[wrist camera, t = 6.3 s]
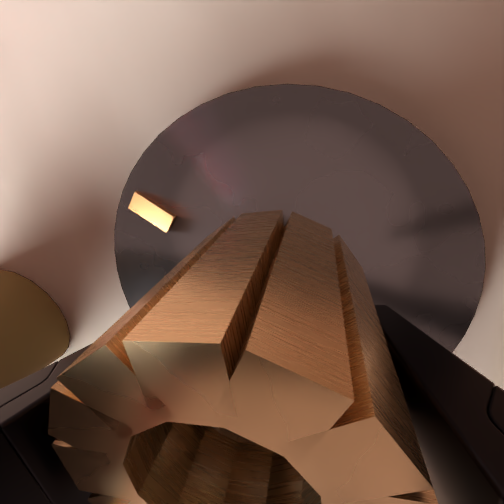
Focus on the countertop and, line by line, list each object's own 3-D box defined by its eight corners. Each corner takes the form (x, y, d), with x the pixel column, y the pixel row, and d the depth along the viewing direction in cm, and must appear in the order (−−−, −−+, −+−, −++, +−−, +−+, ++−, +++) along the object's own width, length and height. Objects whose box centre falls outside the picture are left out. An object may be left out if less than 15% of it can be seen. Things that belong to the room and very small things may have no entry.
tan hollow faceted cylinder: (364, 201, 8) (462, 351, 3) (365, 365, 10) (418, 633, 5) (175, 219, 9) (-15, 336, 4) (211, 358, 12) (117, 554, 6)
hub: (572, 242, 8) (1013, 434, 3) (314, 435, 14) (312, 620, 9) (212, -6, 8) (-5, -290, 3) (96, 298, 14) (-48, 405, 8)
